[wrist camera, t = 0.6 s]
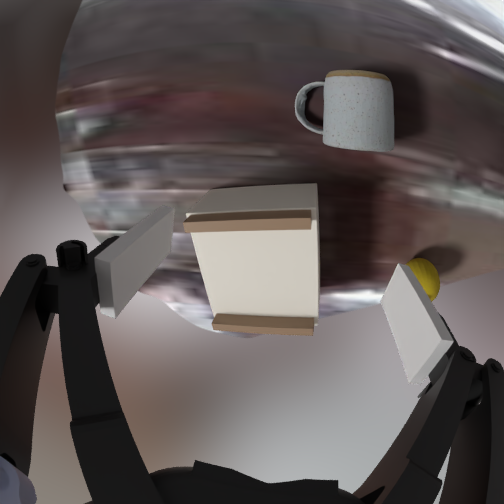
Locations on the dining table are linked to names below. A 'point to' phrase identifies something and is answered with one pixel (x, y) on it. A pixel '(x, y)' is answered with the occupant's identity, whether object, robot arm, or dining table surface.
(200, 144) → the dining table surface
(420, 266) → the lemon
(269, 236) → the display stand
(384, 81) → the ceramic mug
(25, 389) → the robot arm
